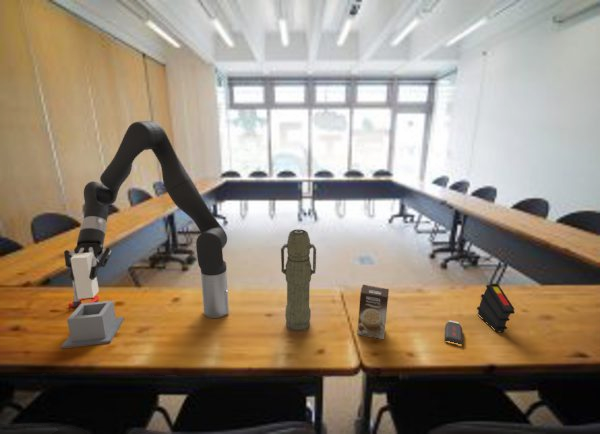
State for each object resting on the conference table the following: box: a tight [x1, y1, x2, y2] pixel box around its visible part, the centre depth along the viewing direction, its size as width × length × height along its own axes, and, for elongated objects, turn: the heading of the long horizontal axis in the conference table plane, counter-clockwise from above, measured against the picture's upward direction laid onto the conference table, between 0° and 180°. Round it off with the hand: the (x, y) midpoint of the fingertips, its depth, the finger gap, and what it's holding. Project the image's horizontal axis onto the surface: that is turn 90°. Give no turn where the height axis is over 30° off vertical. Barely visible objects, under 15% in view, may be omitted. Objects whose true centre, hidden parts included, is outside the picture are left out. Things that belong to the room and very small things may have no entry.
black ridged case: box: [476, 283, 516, 332], centre depth 112 cm, size 4×13×15 cm, turn 3°
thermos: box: [280, 228, 317, 332], centre depth 108 cm, size 9×12×35 cm
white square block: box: [70, 252, 100, 299], centre depth 101 cm, size 4×4×14 cm
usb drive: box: [444, 320, 464, 345], centre depth 107 cm, size 5×12×3 cm, turn 154°
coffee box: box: [356, 284, 390, 340], centre depth 106 cm, size 9×6×16 cm
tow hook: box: [68, 280, 100, 309], centre depth 124 cm, size 8×13×9 cm
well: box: [60, 300, 125, 349], centre depth 105 cm, size 14×14×9 cm
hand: (82, 279), depth 99 cm, fingers closed on white square block, 4 cm apart
